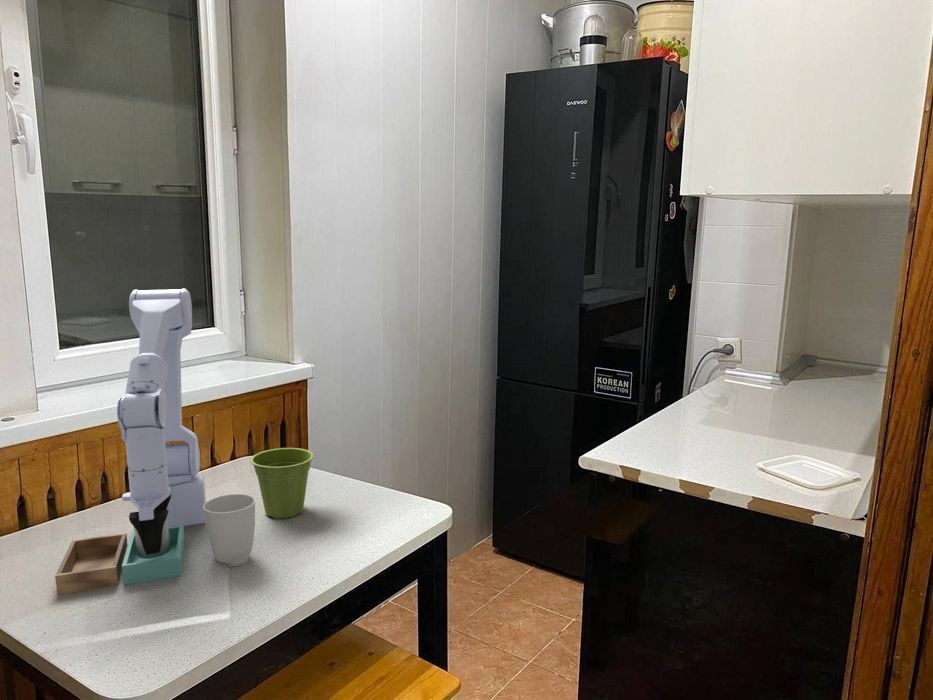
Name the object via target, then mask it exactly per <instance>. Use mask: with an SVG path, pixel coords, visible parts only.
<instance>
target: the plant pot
mask: <svg viewBox="0 0 933 700" xmlns="http://www.w3.org/2000/svg"><path fill="white" fill-rule="evenodd" d="M314 455H315V454H314V453H313V452H312V451H310V450H308V449H305V448H301V447H300V448H297V447H281V448H273V449H267V450H263V451H259V452H258V453H255V454H254V455H253V456H251V458H250V460H249V461H250V463H251V465H253V467H254V472H255V474H256V476H257V477H256V478H257V481H258V484H259V489H260V493H261V499H262V503H263V507H264V512H265V514H266V516H268V517H272V518H274V519H289V518H288V517H290V518H294V517H295V516H296V515H298V514H302V512H303V511H304V507H305V506H304V505H305V498H306V491H307V485H308V484H307V483H308V477H309V472H310V469H311V463H312V460H313V459H314Z"/></svg>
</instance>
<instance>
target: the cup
mask: <svg viewBox="0 0 933 700" xmlns="http://www.w3.org/2000/svg"><path fill="white" fill-rule="evenodd" d="M203 509H204V515H205V522H206V523H205V527H206V534H207V537H208V541H209V544H210V547H211V551H212V554H213V555H214V557H215V560H216V561H217V562H218V563H221V564H226V567H227V568H231V567H238V566H240V565H243V564H245V563H247V562H248V561H249V560H250V556H251V552H252V548H253V545H254V537H255V536H254V534H255V529H256V528H255V527H256V499H255V497H253V496H252V495H249V494H243V493H233V494H232V493H231V494H224V495H221V496H217V497H213V498H212V499H210V500H206V503H205V504H204V506H203Z"/></svg>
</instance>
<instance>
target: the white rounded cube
mask: <svg viewBox="0 0 933 700" xmlns="http://www.w3.org/2000/svg"><path fill="white" fill-rule="evenodd" d="M133 532H134V533H135V540H136V548H137V555H138V557H139V558H143V559H150V558H156V557H159V556H162V555H164V554H166V553H168V552H169V551H170V549H171V547H170V539H169V531H168V523H167V518H166V520H165V522H164V526H163V532H162V544H161V550H160V552H159V553H154V554H146V553H145V551H144V548H143V545H142V542H141V539H140V536H139V534H138V532H137V530H136V529H135V527H134V526H133Z"/></svg>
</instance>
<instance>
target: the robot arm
mask: <svg viewBox="0 0 933 700" xmlns="http://www.w3.org/2000/svg"><path fill="white" fill-rule="evenodd" d="M192 305H193V304H192V297H191V293H190V291H189V290H187V288H181V289H179V288H178V289H148V290H146V289H145V290H139V289H133V290H132V291H131V293H130V295H129V300H128V309H129V315H130V318H131V321H132V322H133V324H134V327H135V329H136V330H137V332H138V333H139V344H138V345H139V346H138V347H139V349H138V355H136V356H135V357H133V358H132V360H130V364H129V371H128V373H127V374H128V376H127V381H126V382H127V383H126V387H125V392H124V393H125V394H124V395H123V397H122V396H120V397H119V398H118V401H117V407H116V414H117V423H118V426H119V429H120V431H121V432H120V433H121V439H122V441H123V442H125V452H126V460H127V461H126V464H127V472H128V473H127V474H128V483H129V485H128V486H129V492H125V493H123V494H122V496H121V497H122V499H121V500H122V501H124V502H128V501H129V502H131V504H133V506H134V507H135V508H136V509H137V510H138V511H133V512H129V515H128V519H129V522H130V524H131V525H132V526H133V528H134V527H135V529H136V530H137V532H138V534H139V536H140V539H141V542H142V545H143V548H144V551H145V553H146V554H154V553H159V552H160V550H161V544H162V532H163V526H164V522H165V520H166V518H167V523H168V527H174V526H181V525H183V527H187V526H192V525H199V524H206V522H205V515H204V509H203V506H204V504H205V503H206V502H207V500H206V499H207V498H206V484H205V477H204V476H205V475H197V474H198V473H199V472H200V469H201V453H200V448H199V447H200V446H199V438H198V437H197V434H196V433H195V432H193V431H191V429H188V428H187V427H185V425H183V413H182V411H183V409H182V408H183V407H182V371H181V370H182V367H181V364H182V363H181V361H182V360H181V349H182V343H183V340H184V339H183V338H186V337H187V336H189V335H191V334H192V328H193V306H192ZM171 442H172V443H171ZM174 442H183V443H174ZM166 443H171V444H166Z"/></svg>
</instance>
